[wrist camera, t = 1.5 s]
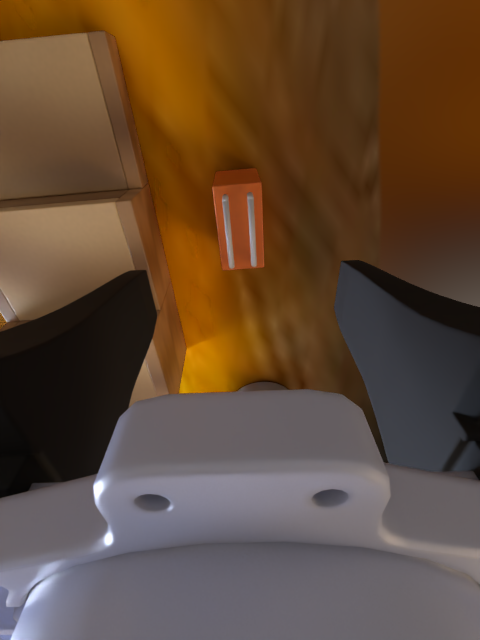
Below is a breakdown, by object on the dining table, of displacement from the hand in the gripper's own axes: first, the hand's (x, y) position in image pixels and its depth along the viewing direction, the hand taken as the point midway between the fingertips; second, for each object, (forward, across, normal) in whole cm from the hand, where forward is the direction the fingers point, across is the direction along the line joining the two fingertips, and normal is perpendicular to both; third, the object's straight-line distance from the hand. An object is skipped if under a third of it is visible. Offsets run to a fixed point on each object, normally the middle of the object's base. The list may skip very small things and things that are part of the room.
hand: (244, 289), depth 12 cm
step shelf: (+9, +10, +1) cm, 14 cm away
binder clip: (+10, 0, 0) cm, 10 cm away
